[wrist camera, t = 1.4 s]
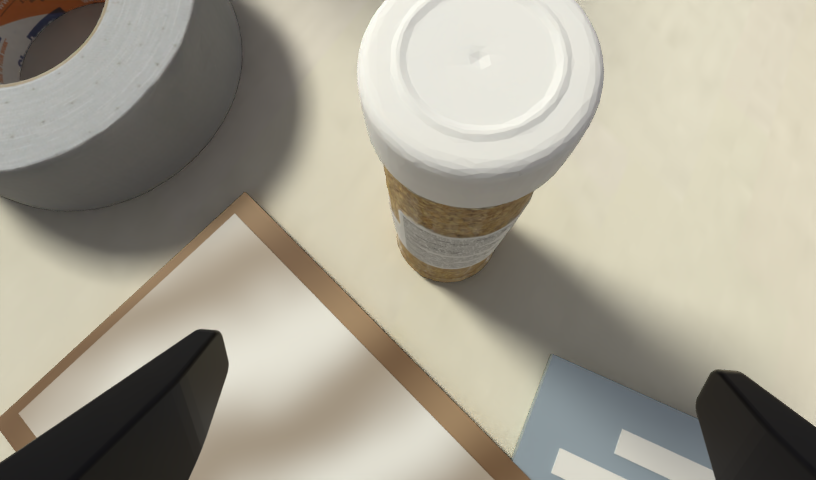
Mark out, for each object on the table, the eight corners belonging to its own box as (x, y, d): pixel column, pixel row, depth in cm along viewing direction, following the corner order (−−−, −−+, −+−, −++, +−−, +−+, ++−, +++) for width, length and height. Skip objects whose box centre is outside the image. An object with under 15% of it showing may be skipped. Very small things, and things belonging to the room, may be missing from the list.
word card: (763, 449, 19) (772, 451, 18) (721, 605, 18) (729, 612, 17) (550, 354, 20) (553, 354, 20) (497, 494, 19) (499, 498, 18)
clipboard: (543, 491, 19) (551, 501, 18) (285, 795, 17) (274, 831, 16) (248, 195, 22) (238, 185, 21) (4, 420, 20) (-24, 425, 19)
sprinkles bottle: (418, 174, 22) (409, -81, 9) (510, 207, 22) (643, -12, 9) (381, 263, 21) (311, 124, 8) (477, 301, 21) (567, 215, 8)
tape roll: (-101, 183, 23) (-243, 138, 18) (13, -70, 27) (-81, -167, 22) (196, 237, 22) (130, 204, 17) (276, -35, 25) (240, -128, 20)
